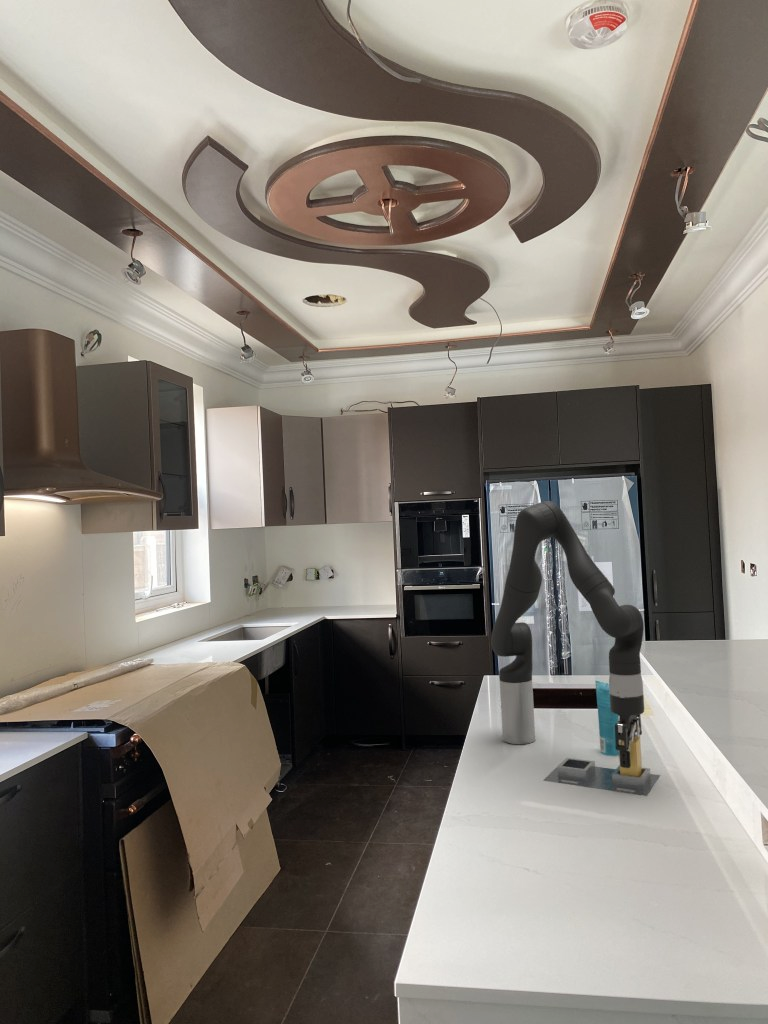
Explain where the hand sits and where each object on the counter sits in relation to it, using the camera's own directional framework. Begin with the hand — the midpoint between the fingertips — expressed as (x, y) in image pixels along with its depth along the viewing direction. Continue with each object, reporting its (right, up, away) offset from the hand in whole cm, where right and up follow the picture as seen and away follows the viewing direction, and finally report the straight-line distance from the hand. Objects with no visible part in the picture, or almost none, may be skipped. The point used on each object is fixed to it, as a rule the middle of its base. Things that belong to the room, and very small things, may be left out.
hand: (630, 761), depth 174 cm
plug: (0, -5, 0) cm, 5 cm away
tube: (+2, -6, +22) cm, 23 cm away
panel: (-6, -6, +4) cm, 9 cm away
